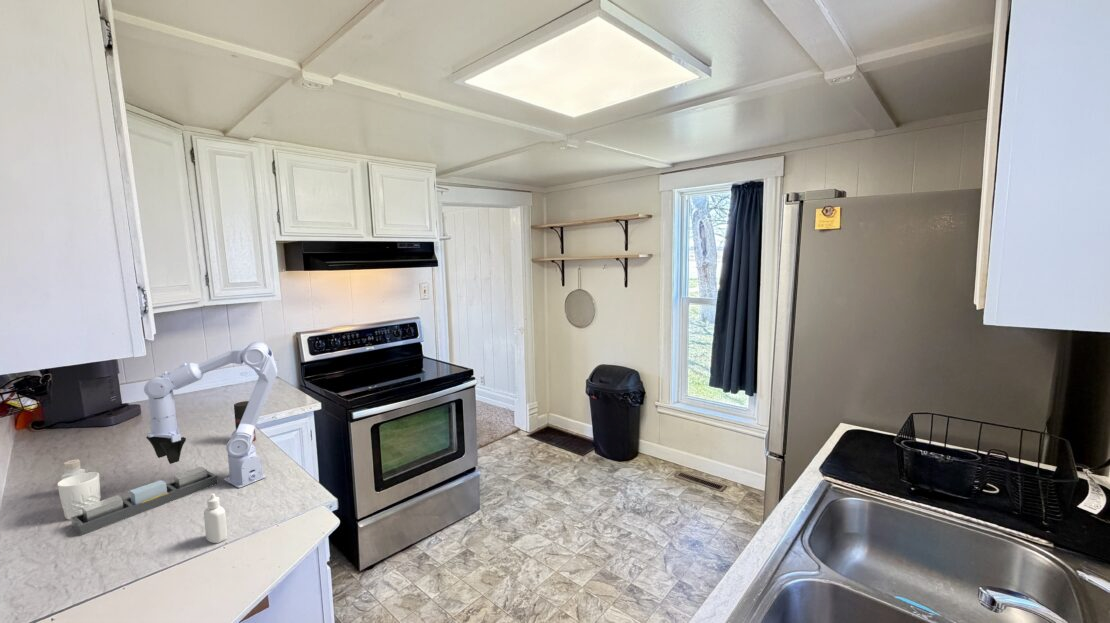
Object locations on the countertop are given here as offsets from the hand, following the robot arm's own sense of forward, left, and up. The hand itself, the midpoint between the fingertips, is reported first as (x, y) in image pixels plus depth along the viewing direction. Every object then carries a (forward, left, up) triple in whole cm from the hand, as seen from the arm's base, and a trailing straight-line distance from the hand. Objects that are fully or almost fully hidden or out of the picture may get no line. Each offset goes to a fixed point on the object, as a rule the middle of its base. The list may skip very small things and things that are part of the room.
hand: (168, 459), depth 133 cm
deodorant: (+20, -30, -11) cm, 38 cm away
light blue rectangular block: (-3, +6, -10) cm, 12 cm away
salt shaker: (+24, +15, -11) cm, 30 cm away
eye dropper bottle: (-37, +4, -11) cm, 38 cm away
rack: (-3, +6, -10) cm, 12 cm away
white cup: (+7, +17, -11) cm, 21 cm away
